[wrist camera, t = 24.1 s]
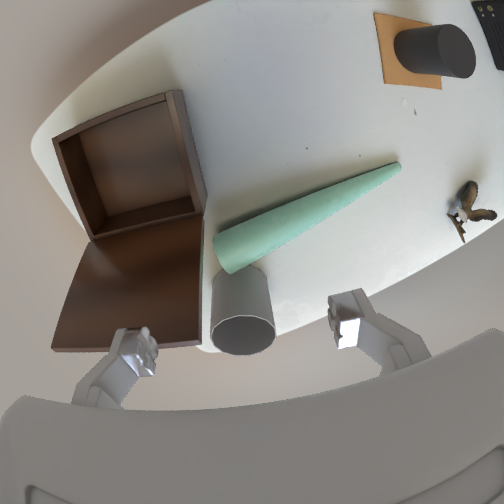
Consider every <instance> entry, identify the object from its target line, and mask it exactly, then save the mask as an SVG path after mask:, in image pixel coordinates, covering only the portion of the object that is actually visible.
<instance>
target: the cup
mask: <svg viewBox="0 0 504 504" xmlns="http://www.w3.org/2000/svg"><path fill="white" fill-rule="evenodd" d="M276 337H277V336H276V329H275V323H274V317H273V312H272V306H271V301H270V295H269V290H268V284H267V279H266V277H265V275H264V274H263V273H262V272H261V271H260V270H259V269H257V268H255V267H252V266H250V265H247V266H246V267H244V268H242V269H240V270H238V271H236V272H235V273H233V274H229V273H228V272H226V271H225V269H222V270H221V271H220V272H219V273H218V274H217V275H216V276H215V279H214V282H213V286H212V304H211V326H210V338H211V341H212V343H213V345H214V346H215V347H216V348H217V349H219V350H220V351H221V352H223V353H226V354H230V355H234V356H250V355H253V354H257V353H261V352H263V351H264V350H266V349H267V348H269V347H270V346H272V344H273V342H274V341H275V339H276Z"/></svg>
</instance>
